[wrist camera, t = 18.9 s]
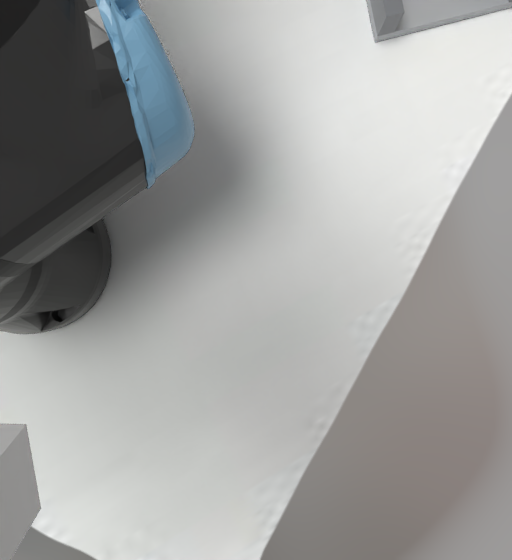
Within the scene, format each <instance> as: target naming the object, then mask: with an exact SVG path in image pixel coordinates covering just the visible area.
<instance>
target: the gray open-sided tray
mask: <svg viewBox="0 0 512 560" xmlns="http://www.w3.org/2000/svg"><path fill="white" fill-rule="evenodd" d="M366 2H367V7H368V12H369V16H370V21H371V26H372V31H373V36H374V41H375V42H378V41H382V40H386V39H390V38H394V37H398V36H402V35H406V34H410V33H413V32H417V31H421V30H425V29H429V28H433V27H437V26H441V25H445V24H448V23H452V22H456V21H460V20H464V19H468V18H472V17H476V16H480V15H484V14H487V13H491V12H495V11H499V10H503V9H507V8H511V7H512V0H366Z"/></svg>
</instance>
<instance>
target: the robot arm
mask: <svg viewBox="0 0 512 560" xmlns="http://www.w3.org/2000/svg"><path fill="white" fill-rule="evenodd" d="M194 130H195V128H194V122H193V118H192V114H191V111H190V108H189V105H188V102H187V100H186V97H185V95H184V92H183V90H182V88H181V85H180V83H179V81H178V79H177V76H176V74H175V72H174V70H173V68H172V65H171V63H170V61H169V59H168V57H167V55H166V53H165V51H164V49H163V47H162V45H161V43H160V40H159V38H158V36H157V35H156V33H155V31H154V29H153V27H152V25H151V23H150V21H149V19H148V17H147V16H146V15H145V13H144V12H143V11H142V10H141V9H140V8H139V2H138V0H0V331H5V332H10V333H16V334H35V333H42V332H46V331H50V330H53V329H56V328H60V327H62V326H65V325H67V324H70V323H72V322H73V321H75V320H77V319H78V318H80V317H81V316H82V315H84V314H85V313H86V312H87V311H88V310H89V309H90V308H91V307H92V306H93V305H94V304H95V302H96V301H97V299H98V298H99V296H100V295H101V293H102V291H103V289H104V287H105V284H106V282H107V279H108V275H109V271H110V264H111V248H110V241H109V236H108V233H107V230H106V227H105V224H104V222H103V220H102V218H103V217H104V216H106V215H107V214H109V213H110V212H112V211H113V210H114V209H116V208H117V207H119V206H120V205H122V204H123V203H124V202H126V201H127V200H129V199H130V198H132V197H133V196H134V195H136V194H137V193H139V192H140V191H142V190H143V189H144V188H147V189H149V188H150V187H152V185H153V184H154V183H155V180H156V178H157V177H159V176H160V175H161V174H162V173H164V172H165V171H166V170H167V169H169V168H170V167H171V166H172V165H174V164H175V163H176V162H178V161H179V160H180V159H181V158H183V157H184V156H185V155H186V154H187V152H188V151H189V149H190V147H191V144H192V141H193V138H194ZM40 509H41V505H40V500H39V494H38V488H37V483H36V477H35V471H34V466H33V460H32V454H31V449H30V443H29V437H28V432H27V426H26V424H0V560H11V559H12V557H13V555H14V554H15V552H16V550H17V548H18V547H19V545H20V543H21V542H22V540H23V538H24V536H25V535H26V533H27V531H28V529H29V528H30V526H31V525H32V523H33V521H34V519H35V518H36V516H37V514H38V513H39V511H40Z"/></svg>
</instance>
